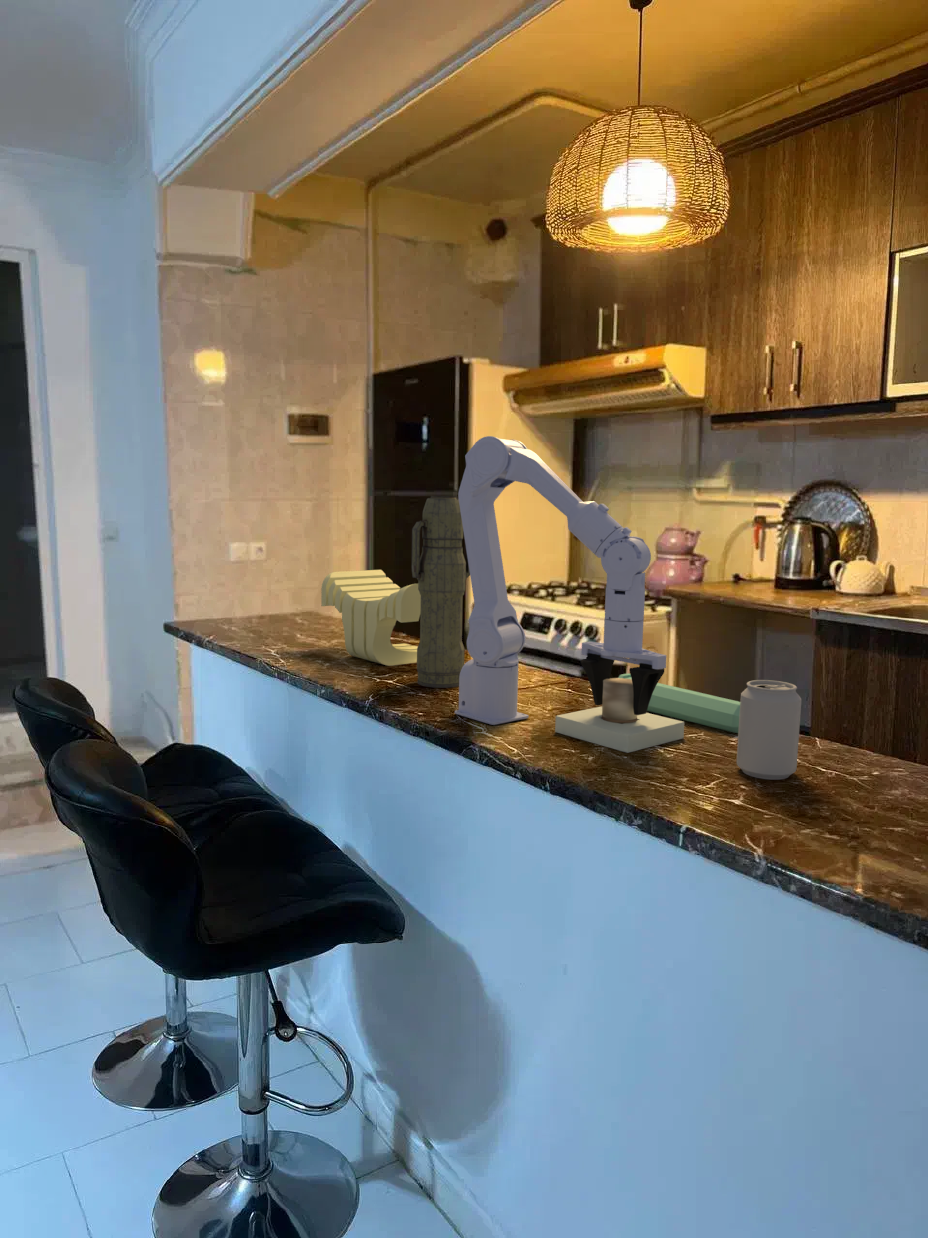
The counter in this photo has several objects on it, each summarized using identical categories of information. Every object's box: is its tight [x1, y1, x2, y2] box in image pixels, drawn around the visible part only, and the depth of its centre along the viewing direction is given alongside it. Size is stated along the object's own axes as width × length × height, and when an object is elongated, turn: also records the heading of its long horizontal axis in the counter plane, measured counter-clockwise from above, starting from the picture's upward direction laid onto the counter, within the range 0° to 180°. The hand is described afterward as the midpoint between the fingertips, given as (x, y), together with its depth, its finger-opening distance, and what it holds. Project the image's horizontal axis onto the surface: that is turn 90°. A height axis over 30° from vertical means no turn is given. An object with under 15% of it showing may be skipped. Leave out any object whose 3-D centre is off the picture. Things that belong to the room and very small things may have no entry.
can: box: [736, 679, 802, 781], centre depth 119 cm, size 8×8×12 cm
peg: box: [601, 677, 637, 724], centre depth 136 cm, size 5×5×8 cm
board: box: [554, 705, 685, 754], centre depth 137 cm, size 14×13×2 cm
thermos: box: [411, 495, 470, 689], centre depth 170 cm, size 9×12×35 cm
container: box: [617, 672, 740, 734], centre depth 148 cm, size 6×6×25 cm
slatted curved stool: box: [320, 569, 421, 667], centre depth 195 cm, size 30×16×18 cm, turn 40°
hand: (619, 709), depth 136 cm, fingers open, 7 cm apart
